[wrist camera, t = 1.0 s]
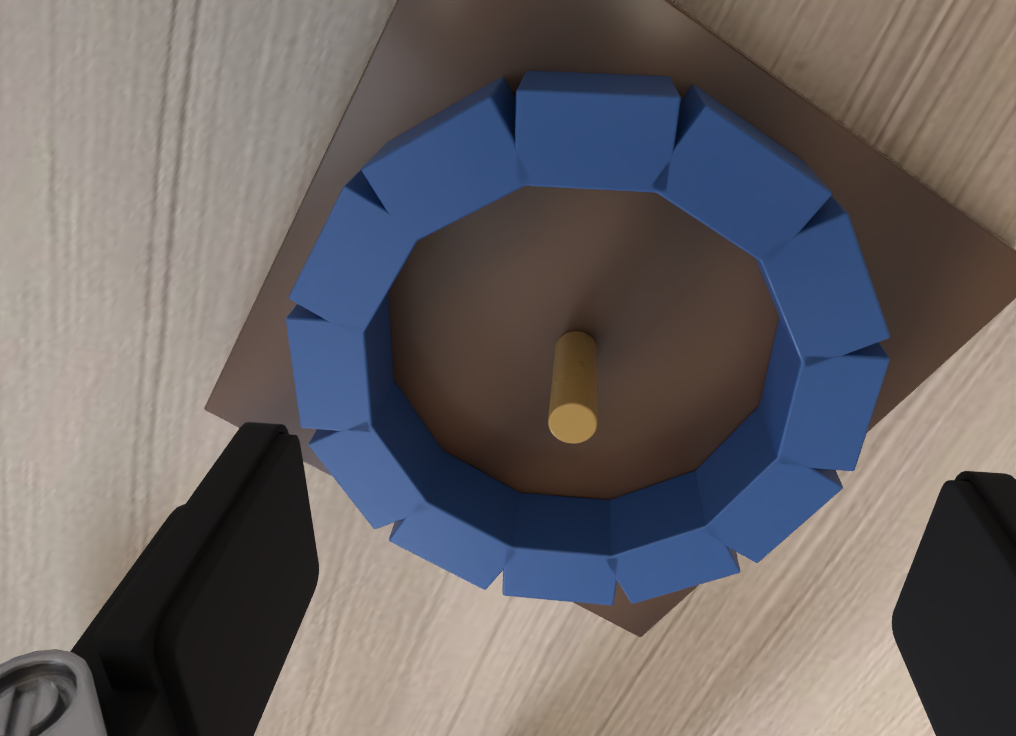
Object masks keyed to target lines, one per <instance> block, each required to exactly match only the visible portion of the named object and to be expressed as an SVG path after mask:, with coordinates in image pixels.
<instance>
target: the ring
mask: <svg viewBox="0 0 1016 736" xmlns="http://www.w3.org/2000/svg"><path fill="white" fill-rule="evenodd" d="M524 186H540V187H560V188H579V189H598V190H617V191H636V192H655V193H658V194H659V195H661V196H662V197H664V198H665V199H667V200H668V201H670V202H671V203H673V204H674V205H676V206H677V207H679V208H680V209H682V210H683V211H685V212H686V213H688V214H689V215H691V216H692V217H694V218H695V219H697V220H698V221H700V222H702V223H703V224H705V225H706V226H708V227H709V228H711V229H712V230H714V231H715V232H717V233H718V234H720V235H721V236H723V237H724V238H726V239H727V240H729V241H730V242H732V243H733V244H735V245H736V246H738V247H739V248H741V249H742V250H744V251H745V252H747V253H748V254H750V255H752V256H753V257H755V259H756V262H757V264H758V266H759V269H760V271H761V274H762V276H763V279H764V281H765V283H766V286H767V288H768V291H769V293H770V296H771V298H772V300H773V303H774V305H775V308H776V310H777V313H778V315H779V321H778V325H777V330H776V334H775V339H774V343H773V347H772V352H771V356H770V361H769V365H768V369H767V374H766V378H765V382H764V387H763V391H762V396H761V400H760V404H759V406H758V407H757V408H756V409H755V410H754V411H753V412H752V413H751V415H750V416H749V417H748V418H747V419H746V420H745V421H744V422H743V423H742V424H741V425H740V426H739V427H738V428H737V429H736V430H735V431H734V432H733V433H732V434H731V435H730V436H729V437H728V438H727V439H726V440H725V441H724V442H723V443H722V444H721V445H720V446H719V447H718V448H717V449H716V450H715V451H714V452H713V453H712V454H711V455H710V456H709V457H708V458H707V459H706V460H705V462H704V463H703V464H702V465H701V466H700V467H699V468H698V469H697V470H696V471H693V472H690V473H687V474H684V475H681V476H678V477H675V478H672V479H669V480H667V481H664V482H661V483H658V484H655V485H652V486H649V487H646V488H643V489H640V490H638V491H635V492H632V493H629V494H626V495H623V496H620V497H617V498H614V499H611V500H602V499H590V498H578V497H566V496H554V495H542V494H530V493H520V492H518V491H516V490H514V489H512V488H511V487H509V486H507V485H505V484H503V483H501V482H500V481H498V480H496V479H494V478H492V477H490V476H489V475H487V474H485V473H483V472H481V471H480V470H478V469H476V468H474V467H472V466H470V465H469V464H467V463H465V462H463V461H461V460H459V459H458V458H456V457H454V456H452V455H450V454H448V453H447V452H445V451H443V450H442V449H441V447H440V446H439V444H438V443H437V441H436V440H435V438H434V437H433V436H432V434H431V433H430V431H429V430H428V428H427V427H426V425H425V424H424V422H423V421H422V420H421V418H420V417H419V415H418V414H417V412H416V411H415V409H414V408H413V407H412V405H411V404H410V402H409V401H408V399H407V398H406V396H405V395H404V394H403V392H402V391H401V389H400V388H399V386H398V385H397V383H396V382H395V380H394V379H393V364H392V348H391V332H390V316H389V300H388V291H389V289H390V288H391V286H392V284H393V283H394V281H395V279H396V277H397V276H398V274H399V272H400V271H401V269H402V267H403V265H404V264H405V262H406V260H407V258H408V257H409V255H410V253H411V252H412V250H413V248H414V246H415V245H416V243H417V241H418V240H420V239H422V238H424V237H426V236H428V235H429V234H431V233H433V232H435V231H437V230H439V229H441V228H443V227H445V226H447V225H449V224H451V223H453V222H455V221H457V220H459V219H461V218H463V217H465V216H467V215H469V214H471V213H473V212H475V211H477V210H479V209H481V208H482V207H484V206H486V205H488V204H490V203H492V202H494V201H496V200H498V199H500V198H502V197H504V196H506V195H508V194H510V193H512V192H514V191H516V190H518V189H520V188H522V187H524ZM289 299H290V300H292V301H294V302H295V303H297V305H296V306H295V307H294V308H293V309H292V311H291V312H290V313H289V314H288V316H287V317H286V325H287V332H288V339H289V346H290V353H291V360H292V368H293V375H294V382H295V389H296V396H297V403H298V410H299V418H300V425H301V427H302V428H310V429H317V430H316V432H315V433H314V435H313V437H312V439H311V441H310V442H309V447H310V448H311V449H312V450H313V452H314V453H315V454H316V455H317V457H318V458H319V459H320V461H321V462H322V463H323V464H324V466H325V467H326V468H327V470H328V471H329V472H330V473H331V475H332V476H333V477H334V478H335V480H336V481H337V482H338V484H339V485H340V486H341V487H342V489H343V490H344V491H345V492H346V494H347V495H348V496H349V498H350V499H351V500H352V501H353V503H354V504H355V505H356V507H357V508H358V509H359V510H360V512H361V513H362V514H363V515H364V517H365V518H366V519H367V521H368V522H369V523H370V524H371V526H372V527H373V528H374V529H377V528H380V527H382V526H385V525H388V524H391V523H393V522H395V523H394V526H393V529H392V532H391V535H390V538H389V541H390V542H392V543H394V544H396V545H398V546H400V547H402V548H404V549H406V550H408V551H410V552H412V553H414V554H416V555H418V556H419V557H421V558H423V559H425V560H427V561H429V562H431V563H433V564H435V565H437V566H439V567H441V568H443V569H445V570H447V571H449V572H451V573H453V574H455V575H457V576H458V577H460V578H462V579H464V580H466V581H468V582H470V583H472V584H474V585H476V586H478V587H480V588H482V589H484V590H486V589H487V588H488V586H489V585H490V584H491V583H492V582H493V581H494V580H495V578H496V577H497V576H498V575H499V574H500V573H501V572H502V570H503V595H505V596H516V597H526V598H537V599H548V600H558V601H569V602H579V603H590V604H601V605H611V606H612V605H613V604H614V599H615V592H616V584H617V581H618V583H619V584H620V586H621V587H622V589H623V591H624V592H625V594H626V595H627V597H628V599H629V600H630V602H631V603H632V604H634V603H638V602H641V601H644V600H648V599H651V598H655V597H658V596H661V595H665V594H668V593H672V592H675V591H678V590H682V589H685V588H689V587H692V586H696V585H699V584H702V583H706V582H709V581H713V580H716V579H719V578H723V577H726V576H730V575H733V574H736V573H739V572H740V567H739V563H738V559H737V554H736V552H738V553H740V554H741V555H743V556H745V557H747V558H749V559H750V560H752V561H754V562H756V563H758V562H759V561H760V560H762V559H763V558H764V557H765V556H766V555H767V554H768V553H770V552H771V551H772V550H773V549H774V548H775V547H776V546H778V545H779V544H780V543H781V542H782V541H783V540H784V539H786V538H787V537H788V536H789V535H790V534H791V533H792V532H794V531H795V530H796V529H797V528H798V527H799V526H800V525H802V524H803V523H804V522H805V521H806V520H807V519H808V518H810V517H811V516H812V515H813V514H814V513H815V512H816V511H818V510H819V509H820V508H821V507H822V506H823V505H824V504H826V503H827V502H828V501H829V500H830V499H831V498H832V497H834V496H835V495H836V494H837V493H838V492H839V491H840V490H842V488H843V486H842V484H841V481H840V479H839V477H838V475H837V472H836V470H844V471H854V470H855V467H856V464H857V461H858V458H859V455H860V452H861V448H862V445H863V442H864V439H865V436H866V433H867V430H868V427H869V423H870V420H871V417H872V414H873V411H874V408H875V405H876V402H877V398H878V395H879V392H880V389H881V386H882V383H883V380H884V377H885V373H886V370H887V367H888V364H889V361H890V358H889V356H888V355H887V353H886V352H885V351H884V349H883V348H882V346H881V345H880V343H879V342H880V341H883V340H885V339H888V338H889V337H890V333H889V330H888V327H887V324H886V321H885V318H884V316H883V313H882V310H881V307H880V304H879V301H878V298H877V295H876V292H875V289H874V286H873V283H872V281H871V278H870V275H869V272H868V269H867V266H866V263H865V260H864V257H863V254H862V251H861V249H860V246H859V243H858V240H857V237H856V234H855V231H854V228H853V225H852V222H851V219H850V217H849V214H848V213H847V212H846V210H845V209H844V208H843V207H842V206H841V205H840V204H839V203H838V202H837V201H836V199H835V198H834V197H833V196H832V191H831V190H830V189H829V188H828V187H827V186H826V185H825V184H824V182H823V181H822V180H821V179H820V178H819V177H818V176H817V175H816V174H815V173H814V172H813V171H812V169H811V168H810V167H809V166H808V165H807V164H806V163H805V162H804V161H803V160H801V159H800V158H798V157H797V156H796V155H794V154H793V153H791V152H790V151H788V150H787V149H786V148H784V147H783V146H781V145H780V144H778V143H777V142H776V141H774V140H773V139H771V138H770V137H768V136H767V135H766V134H764V133H763V132H761V131H760V130H758V129H757V128H756V127H754V126H753V125H751V124H750V123H748V122H747V121H746V120H744V119H743V118H741V117H740V116H738V115H737V114H736V113H734V112H733V111H731V110H730V109H728V108H727V107H726V106H724V105H723V104H721V103H720V102H718V101H717V100H716V99H714V98H713V97H711V96H710V95H708V94H707V93H706V92H704V91H703V90H701V89H700V88H698V87H697V86H696V85H692V86H691V87H690V89H689V90H688V92H687V93H686V94H685V96H684V97H683V99H682V100H681V97H680V95H679V93H678V91H677V89H676V87H675V85H674V84H673V82H672V80H671V78H670V77H669V76H648V75H623V74H599V73H574V72H549V71H526V73H525V75H524V77H523V79H522V81H521V83H520V85H519V87H518V89H517V91H516V100H515V98H514V96H513V94H512V92H511V90H510V88H509V86H508V84H507V82H506V80H505V79H504V78H499V79H497V80H496V81H494V82H492V83H490V84H489V85H487V86H485V87H483V88H481V89H480V90H478V91H476V92H474V93H473V94H471V95H469V96H467V97H466V98H464V99H462V100H460V101H459V102H457V103H455V104H453V105H452V106H450V107H448V108H446V109H444V110H443V111H441V112H439V113H437V114H436V115H434V116H432V117H430V118H429V119H427V120H425V121H423V122H422V123H420V124H418V125H416V126H415V127H413V128H411V129H409V130H408V131H406V132H404V133H402V134H400V135H399V136H397V137H395V138H393V139H392V140H390V141H388V142H387V143H386V144H385V145H384V146H383V147H382V148H381V149H380V150H379V151H378V152H377V153H376V154H375V155H374V156H373V157H372V158H371V159H370V160H369V161H368V162H367V163H366V164H365V165H364V166H363V167H362V169H361V170H360V171H359V172H358V173H357V174H356V175H355V176H354V177H353V178H352V179H351V180H349V181H348V182H347V183H346V184H345V185H344V186H343V188H342V190H341V192H340V194H339V196H338V198H337V200H336V202H335V204H334V207H333V209H332V211H331V213H330V215H329V217H328V219H327V221H326V223H325V225H324V227H323V229H322V231H321V233H320V235H319V237H318V239H317V241H316V243H315V245H314V247H313V249H312V251H311V253H310V255H309V257H308V259H307V261H306V263H305V265H304V267H303V269H302V271H301V273H300V275H299V277H298V279H297V281H296V283H295V285H294V287H293V289H292V291H291V293H290V295H289Z"/></svg>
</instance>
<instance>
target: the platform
mask: <svg viewBox="0 0 1016 736" xmlns="http://www.w3.org/2000/svg"><path fill="white" fill-rule="evenodd" d="M526 71H549V72H574V73H599V74H623V75H648V76H669V77H670V78H671V80H672V82H673V84H674V85H675V87H676V89H677V91H678V93H679V95H680V97H681V100H682V99H683V97H684V96H685V94H686V93H687V92H688V90H689V89H690V87H691V86H692V85H696V86H697V87H698V88H700V89H701V90H703V91H704V92H706V93H707V94H708V95H710V96H711V97H713V98H714V99H716V100H717V101H718V102H720V103H721V104H723V105H724V106H726V107H727V108H728V109H730V110H731V111H733V112H734V113H736V114H737V115H738V116H740V117H741V118H743V119H744V120H746V121H747V122H748V123H750V124H751V125H753V126H754V127H756V128H757V129H758V130H760V131H761V132H763V133H764V134H766V135H767V136H768V137H770V138H771V139H773V140H774V141H776V142H777V143H778V144H780V145H781V146H783V147H784V148H786V149H787V150H788V151H790V152H791V153H793V154H794V155H796V156H797V157H798V158H800V159H801V160H803V161H804V162H805V163H806V164H807V165H808V166H809V167H810V168H811V169H812V171H813V172H814V173H815V174H816V175H817V176H818V177H819V178H820V179H821V180H822V181H823V182H824V184H825V185H826V186H827V187H828V188H829V189H830V190H831V191H832V196H833V197H834V198H835V199H836V201H837V202H838V203H839V204H840V205H841V206H842V207H843V208H844V209H845V210H846V212H847V213H848V214H849V217H850V219H851V222H852V225H853V228H854V231H855V234H856V237H857V240H858V243H859V246H860V249H861V251H862V254H863V257H864V260H865V263H866V266H867V269H868V272H869V275H870V278H871V281H872V283H873V286H874V289H875V292H876V295H877V298H878V301H879V304H880V307H881V310H882V313H883V316H884V318H885V321H886V324H887V327H888V330H889V333H890V337H889V338H888V339H885V340H883V341H880V342H879V343H880V345H881V346H882V348H883V349H884V351H885V352H886V353H887V355H888V356H889V358H890V361H889V364H888V367H887V370H886V373H885V377H884V380H883V383H882V386H881V389H880V392H879V395H878V398H877V402H876V405H875V408H874V411H873V414H872V417H871V420H870V423H869V427H868V430H867V432H868V431H869V430H870V429H872V428H873V427H874V426H875V425H876V424H877V423H878V422H879V421H880V420H881V419H883V418H884V417H885V416H886V415H887V414H888V413H889V412H890V411H891V410H893V409H894V408H895V407H896V406H897V405H898V404H899V403H900V402H901V401H902V400H904V399H905V398H906V397H907V396H908V395H909V394H910V393H911V392H912V391H914V390H915V389H916V388H917V387H918V386H919V385H920V384H921V383H922V382H923V381H925V380H926V379H927V378H928V377H929V376H930V375H931V374H932V373H933V372H935V371H936V370H937V369H938V368H939V367H940V366H941V365H942V364H943V363H944V362H946V361H947V360H948V359H949V358H950V357H951V356H952V355H953V354H954V353H955V352H957V351H958V350H959V349H960V348H961V347H962V346H963V345H964V344H965V343H967V342H968V341H969V340H970V339H971V338H972V337H973V336H974V335H975V334H976V333H978V332H979V331H980V330H981V329H982V328H983V327H984V326H985V325H986V324H988V323H989V322H990V321H991V320H992V319H993V318H994V317H995V316H996V315H997V314H999V313H1000V312H1001V311H1002V310H1003V309H1004V308H1005V307H1006V306H1007V305H1009V304H1010V303H1011V302H1012V301H1013V300H1014V299H1015V298H1016V250H1015V249H1014V248H1013V247H1011V246H1010V245H1009V244H1007V243H1006V242H1004V241H1003V240H1002V239H1000V238H999V237H998V236H996V235H995V234H993V233H992V232H991V231H989V230H988V229H986V228H985V227H984V226H982V225H981V224H980V223H978V222H977V221H975V220H974V219H973V218H971V217H970V216H968V215H967V214H966V213H964V212H963V211H961V210H960V209H959V208H957V207H956V206H955V205H953V204H952V203H950V202H949V201H948V200H946V199H945V198H943V197H942V196H941V195H939V194H938V193H937V192H935V191H934V190H932V189H931V188H930V187H928V186H927V185H925V184H924V183H923V182H921V181H920V180H919V179H917V178H916V177H914V176H913V175H912V174H910V173H909V172H907V171H906V170H905V169H903V168H902V167H901V166H899V165H898V164H896V163H895V162H894V161H892V160H891V159H889V158H888V157H887V156H885V155H884V154H882V153H881V152H880V151H878V150H877V149H876V148H874V147H873V146H871V145H870V144H869V143H867V142H866V141H864V140H863V139H862V138H860V137H859V136H858V135H856V134H855V133H853V132H852V131H851V130H849V129H848V128H846V127H845V126H844V125H842V124H841V123H840V122H838V121H837V120H835V119H834V118H833V117H831V116H830V115H828V114H827V113H826V112H824V111H823V110H821V109H820V108H819V107H817V106H816V105H815V104H813V103H812V102H810V101H809V100H808V99H806V98H805V97H803V96H802V95H801V94H799V93H798V92H797V91H795V90H794V89H792V88H791V87H790V86H788V85H787V84H785V83H784V82H783V81H781V80H780V79H779V78H777V77H776V76H774V75H773V74H772V73H770V72H769V71H767V70H766V69H765V68H763V67H762V66H761V65H759V64H758V63H756V62H755V61H754V60H752V59H751V58H749V57H748V56H747V55H745V54H744V53H742V52H741V51H740V50H738V49H737V48H736V47H734V46H733V45H731V44H730V43H729V42H727V41H726V40H724V39H723V38H722V37H720V36H719V35H718V34H716V33H715V32H713V31H712V30H711V29H709V28H708V27H706V26H705V25H704V24H702V23H701V22H700V21H698V20H697V19H695V18H694V17H693V16H691V15H690V14H688V13H687V12H686V11H684V10H683V9H681V8H680V7H679V6H677V5H676V4H675V3H673V2H672V1H670V0H397V2H396V4H395V6H394V9H393V11H392V13H391V15H390V17H389V19H388V21H387V23H386V25H385V28H384V30H383V32H382V34H381V36H380V38H379V40H378V42H377V44H376V47H375V49H374V51H373V53H372V55H371V57H370V59H369V61H368V63H367V66H366V68H365V70H364V72H363V74H362V76H361V78H360V80H359V82H358V85H357V87H356V89H355V91H354V93H353V95H352V97H351V99H350V101H349V104H348V106H347V108H346V110H345V112H344V114H343V116H342V118H341V120H340V123H339V125H338V127H337V129H336V131H335V133H334V135H333V137H332V140H331V142H330V144H329V146H328V148H327V150H326V152H325V154H324V156H323V159H322V161H321V163H320V165H319V167H318V169H317V171H316V173H315V175H314V178H313V180H312V182H311V184H310V186H309V188H308V190H307V192H306V194H305V197H304V199H303V201H302V203H301V205H300V207H299V209H298V211H297V213H296V216H295V218H294V220H293V222H292V224H291V226H290V228H289V230H288V232H287V235H286V237H285V239H284V241H283V243H282V245H281V247H280V249H279V251H278V254H277V256H276V258H275V260H274V262H273V264H272V266H271V268H270V271H269V273H268V275H267V277H266V279H265V281H264V283H263V285H262V287H261V290H260V292H259V294H258V296H257V298H256V300H255V302H254V304H253V306H252V309H251V311H250V313H249V315H248V317H247V319H246V321H245V323H244V325H243V328H242V330H241V332H240V334H239V336H238V338H237V340H236V342H235V344H234V347H233V349H232V351H231V353H230V355H229V357H228V359H227V361H226V363H225V366H224V368H223V370H222V372H221V374H220V376H219V378H218V380H217V382H216V385H215V387H214V389H213V391H212V393H211V395H210V397H209V399H208V402H207V404H206V406H205V410H206V411H208V412H210V413H212V414H214V415H216V416H218V417H220V418H222V419H224V420H226V421H227V422H229V423H231V424H233V425H235V426H237V427H239V428H240V427H241V426H242V425H243V424H244V423H246V422H258V423H273V424H283V425H285V426H286V428H287V429H288V432H289V434H293V435H297V436H298V438H299V441H300V445H301V452H302V458H303V461H304V462H306V463H308V464H310V465H312V466H314V467H315V468H317V469H319V470H321V471H323V472H325V473H327V474H329V475H331V473H330V472H329V471H328V470H327V468H326V467H325V466H324V464H323V463H322V462H321V461H320V459H319V458H318V457H317V455H316V454H315V453H314V452H313V450H312V449H311V448H310V447H309V442H310V441H311V439H312V437H313V435H314V433H315V432H316V430H317V429H310V428H302V427H301V425H300V418H299V410H298V403H297V396H296V389H295V382H294V375H293V368H292V360H291V353H290V346H289V339H288V332H287V325H286V317H287V316H288V314H289V313H290V312H291V311H292V309H293V308H294V307H295V306H296V305H297V303H295V302H294V301H292V300H290V299H289V295H290V293H291V291H292V289H293V287H294V285H295V283H296V281H297V279H298V277H299V275H300V273H301V271H302V269H303V267H304V265H305V263H306V261H307V259H308V257H309V255H310V253H311V251H312V249H313V247H314V245H315V243H316V241H317V239H318V237H319V235H320V233H321V231H322V229H323V227H324V225H325V223H326V221H327V219H328V217H329V215H330V213H331V211H332V209H333V207H334V204H335V202H336V200H337V198H338V196H339V194H340V192H341V190H342V188H343V186H344V185H345V184H346V183H347V182H348V181H349V180H351V179H352V178H353V177H354V176H355V175H356V174H357V173H358V172H359V171H360V170H361V169H362V167H363V166H364V165H365V164H366V163H367V162H368V161H369V160H370V159H371V158H372V157H373V156H374V155H375V154H376V153H377V152H378V151H379V150H380V149H381V148H382V147H383V146H384V145H385V144H386V143H387V142H388V141H390V140H392V139H393V138H395V137H397V136H399V135H400V134H402V133H404V132H406V131H408V130H409V129H411V128H413V127H415V126H416V125H418V124H420V123H422V122H423V121H425V120H427V119H429V118H430V117H432V116H434V115H436V114H437V113H439V112H441V111H443V110H444V109H446V108H448V107H450V106H452V105H453V104H455V103H457V102H459V101H460V100H462V99H464V98H466V97H467V96H469V95H471V94H473V93H474V92H476V91H478V90H480V89H481V88H483V87H485V86H487V85H489V84H490V83H492V82H494V81H496V80H497V79H499V78H504V79H505V80H506V82H507V84H508V86H509V88H510V90H511V92H512V94H513V96H514V98H515V100H516V91H517V89H518V87H519V85H520V83H521V81H522V79H523V77H524V75H525V73H526ZM388 300H389V316H390V332H391V348H392V364H393V379H394V380H395V382H396V383H397V385H398V386H399V388H400V389H401V391H402V392H403V394H404V395H405V396H406V398H407V399H408V401H409V402H410V404H411V405H412V407H413V408H414V409H415V411H416V412H417V414H418V415H419V417H420V418H421V420H422V421H423V422H424V424H425V425H426V427H427V428H428V430H429V431H430V433H431V434H432V436H433V437H434V438H435V440H436V441H437V443H438V444H439V446H440V447H441V449H442V450H443V451H445V452H447V453H448V454H450V455H452V456H454V457H456V458H458V459H459V460H461V461H463V462H465V463H467V464H469V465H470V466H472V467H474V468H476V469H478V470H480V471H481V472H483V473H485V474H487V475H489V476H490V477H492V478H494V479H496V480H498V481H500V482H501V483H503V484H505V485H507V486H509V487H511V488H512V489H514V490H516V491H518V492H520V493H530V494H542V495H554V496H566V497H578V498H590V499H602V500H611V499H614V498H617V497H620V496H623V495H626V494H629V493H632V492H635V491H638V490H640V489H643V488H646V487H649V486H652V485H655V484H658V483H661V482H664V481H667V480H669V479H672V478H675V477H678V476H681V475H684V474H687V473H690V472H693V471H696V470H697V469H698V468H699V467H700V466H701V465H702V464H703V463H704V462H705V460H706V459H707V458H708V457H709V456H710V455H711V454H712V453H713V452H714V451H715V450H716V449H717V448H718V447H719V446H720V445H721V444H722V443H723V442H724V441H725V440H726V439H727V438H728V437H729V436H730V435H731V434H732V433H733V432H734V431H735V430H736V429H737V428H738V427H739V426H740V425H741V424H742V423H743V422H744V421H745V420H746V419H747V418H748V417H749V416H750V415H751V413H752V412H753V411H754V410H755V409H756V408H757V407H758V406H759V404H760V400H761V396H762V391H763V387H764V382H765V378H766V374H767V369H768V365H769V361H770V356H771V352H772V347H773V343H774V339H775V334H776V330H777V325H778V321H779V315H778V313H777V310H776V308H775V305H774V303H773V300H772V298H771V296H770V293H769V291H768V288H767V286H766V283H765V281H764V279H763V276H762V274H761V271H760V269H759V266H758V264H757V262H756V259H755V257H753V256H752V255H750V254H748V253H747V252H745V251H744V250H742V249H741V248H739V247H738V246H736V245H735V244H733V243H732V242H730V241H729V240H727V239H726V238H724V237H723V236H721V235H720V234H718V233H717V232H715V231H714V230H712V229H711V228H709V227H708V226H706V225H705V224H703V223H702V222H700V221H698V220H697V219H695V218H694V217H692V216H691V215H689V214H688V213H686V212H685V211H683V210H682V209H680V208H679V207H677V206H676V205H674V204H673V203H671V202H670V201H668V200H667V199H665V198H664V197H662V196H661V195H659V194H658V193H655V192H636V191H617V190H598V189H579V188H560V187H540V186H524V187H522V188H520V189H518V190H516V191H514V192H512V193H510V194H508V195H506V196H504V197H502V198H500V199H498V200H496V201H494V202H492V203H490V204H488V205H486V206H484V207H482V208H481V209H479V210H477V211H475V212H473V213H471V214H469V215H467V216H465V217H463V218H461V219H459V220H457V221H455V222H453V223H451V224H449V225H447V226H445V227H443V228H441V229H439V230H437V231H435V232H433V233H431V234H429V235H428V236H426V237H424V238H422V239H420V240H418V241H417V243H416V245H415V246H414V248H413V250H412V252H411V253H410V255H409V257H408V258H407V260H406V262H405V264H404V265H403V267H402V269H401V271H400V272H399V274H398V276H397V277H396V279H395V281H394V283H393V284H392V286H391V288H390V289H389V291H388ZM331 476H332V475H331ZM697 586H698V585H696V586H692V587H689V588H685V589H682V590H678V591H675V592H672V593H668V594H665V595H661V596H658V597H655V598H651V599H648V600H644V601H641V602H638V603H634V604H632V603H631V602H630V600H629V599H628V597H627V595H626V594H625V592H624V591H623V589H622V587H621V586H620V584H619V583H618V581H617V584H616V592H615V599H614V604H613V605H612V606H611V605H601V604H590V603H579V602H574V603H576V604H577V605H579V606H581V607H583V608H585V609H587V610H589V611H591V612H593V613H595V614H597V615H599V616H600V617H602V618H604V619H606V620H608V621H610V622H612V623H614V624H616V625H618V626H620V627H621V628H623V629H625V630H627V631H629V632H631V633H633V634H635V635H637V636H639V637H642V636H643V635H644V634H645V633H646V632H647V631H648V630H650V629H651V628H652V627H653V626H654V625H655V624H656V623H657V622H658V621H659V620H661V619H662V618H663V617H664V616H665V615H666V614H667V613H668V612H669V611H671V610H672V609H673V608H674V607H675V606H676V605H677V604H678V603H679V602H680V601H682V600H683V599H684V598H685V597H686V596H687V595H688V594H689V593H690V592H692V591H693V590H694V589H695V588H696V587H697Z"/></svg>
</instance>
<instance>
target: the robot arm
mask: <svg viewBox="0 0 1016 736" xmlns="http://www.w3.org/2000/svg"><path fill="white" fill-rule="evenodd" d="M318 575H319V562H318V556H317V549H316V543H315V536H314V530H313V523H312V517H311V510H310V504H309V497H308V491H307V484H306V478H305V471H304V465H303V458H302V452H301V445H300V441H299V438H298V436H297V435H293V434H289V432H288V429H287V428H286V426H285V425H283V424H273V423H258V422H246V423H244V424H243V425H242V426H241V427H240V428H239V430H238V431H237V433H236V434H235V435H234V437H233V438H232V440H231V441H230V442H229V444H228V445H227V447H226V448H225V449H224V451H223V452H222V454H221V455H220V456H219V458H218V459H217V461H216V462H215V463H214V465H213V466H212V468H211V469H210V470H209V472H208V473H207V475H206V476H205V477H204V479H203V480H202V482H201V483H200V484H199V486H198V487H197V489H196V490H195V491H194V493H193V494H192V496H191V497H190V498H189V500H188V501H187V503H186V504H184V505H181V506H179V507H177V508H176V509H175V510H174V511H173V512H172V513H171V514H170V515H169V517H168V518H167V519H166V521H165V522H164V523H163V525H162V526H161V528H160V529H159V530H158V532H157V533H156V534H155V536H154V537H153V539H152V540H151V541H150V543H149V544H148V545H147V547H146V548H145V550H144V551H143V552H142V554H141V555H140V556H139V558H138V559H137V561H136V562H135V563H134V565H133V566H132V567H131V569H130V570H129V572H128V573H127V574H126V576H125V577H124V578H123V580H122V581H121V583H120V584H119V585H118V587H117V588H116V589H115V591H114V592H113V594H112V595H111V596H110V598H109V599H108V600H107V602H106V603H105V605H104V606H103V607H102V609H101V610H100V611H99V613H98V614H97V616H96V617H95V618H94V620H93V621H92V622H91V624H90V625H89V627H88V628H87V629H86V631H85V632H84V633H83V635H82V636H81V638H80V639H79V640H78V642H77V643H76V644H75V646H74V647H73V649H72V650H71V651H70V652H68V651H62V650H57V649H54V650H43V651H35V652H31V653H28V654H25V655H21V656H18V657H15V658H12V659H11V660H9V661H7V662H5V663H3V664H1V665H0V736H254V733H255V731H256V729H257V726H258V724H259V722H260V719H261V717H262V714H263V712H264V710H265V707H266V705H267V703H268V700H269V698H270V695H271V693H272V691H273V688H274V686H275V684H276V681H277V679H278V677H279V674H280V672H281V669H282V667H283V665H284V662H285V660H286V658H287V655H288V653H289V651H290V648H291V646H292V643H293V641H294V639H295V636H296V634H297V632H298V629H299V627H300V624H301V622H302V620H303V617H304V615H305V613H306V610H307V608H308V606H309V603H310V601H311V598H312V596H313V594H314V591H315V589H316V586H317V582H318ZM892 630H893V635H894V638H895V641H896V643H897V646H898V648H899V650H900V653H901V655H902V657H903V660H904V662H905V664H906V667H907V669H908V671H909V674H910V676H911V678H912V681H913V683H914V685H915V688H916V690H917V692H918V695H919V697H920V699H921V702H922V704H923V706H924V709H925V711H926V713H927V716H928V718H929V720H930V723H931V725H932V727H933V730H934V732H935V734H936V736H1016V479H1015V478H1013V477H1012V476H1011V475H1008V474H1003V473H988V472H973V471H964V472H961V473H960V474H959V475H958V476H957V477H956V479H955V480H949V481H946V482H945V483H944V484H943V486H942V488H941V490H940V493H939V496H938V498H937V501H936V503H935V506H934V508H933V511H932V514H931V516H930V519H929V521H928V524H927V526H926V529H925V532H924V534H923V537H922V539H921V542H920V544H919V547H918V550H917V552H916V555H915V557H914V560H913V562H912V565H911V568H910V570H909V573H908V575H907V578H906V580H905V583H904V586H903V588H902V591H901V593H900V596H899V598H898V601H897V604H896V606H895V609H894V612H893V615H892Z"/></svg>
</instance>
